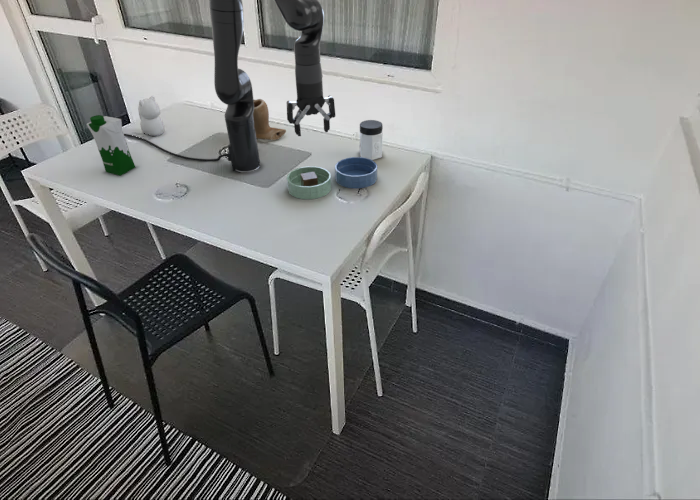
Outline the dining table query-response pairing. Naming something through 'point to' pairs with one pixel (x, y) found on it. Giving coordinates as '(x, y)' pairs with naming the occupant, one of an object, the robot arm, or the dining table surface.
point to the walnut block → (309, 179)
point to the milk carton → (111, 144)
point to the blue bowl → (356, 172)
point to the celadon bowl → (309, 191)
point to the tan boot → (264, 122)
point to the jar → (371, 139)
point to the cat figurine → (150, 117)
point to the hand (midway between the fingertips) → (312, 133)
